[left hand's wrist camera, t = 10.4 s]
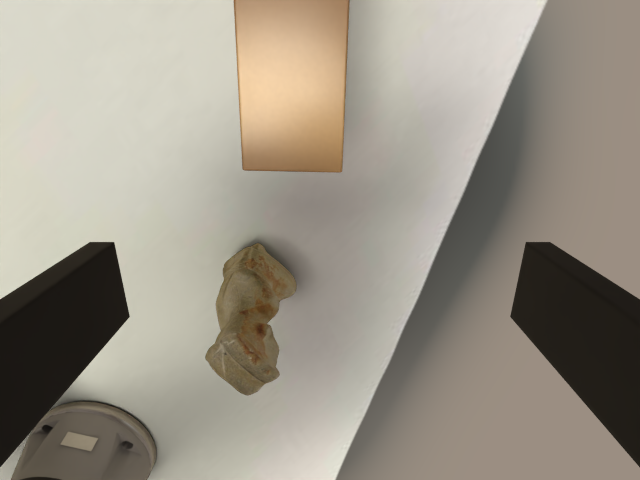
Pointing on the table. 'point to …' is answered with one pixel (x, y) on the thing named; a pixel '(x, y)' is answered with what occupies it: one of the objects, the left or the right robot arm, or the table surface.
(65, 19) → the table surface
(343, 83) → the bar
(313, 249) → the table surface
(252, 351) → the sculpture
